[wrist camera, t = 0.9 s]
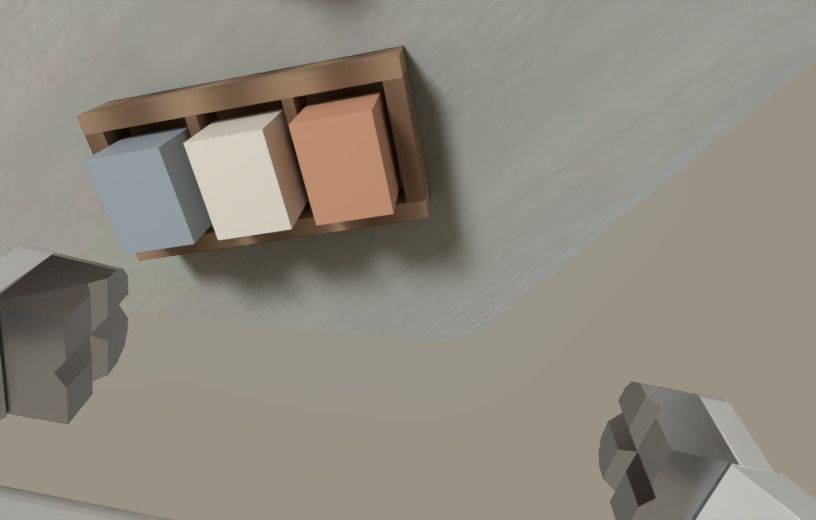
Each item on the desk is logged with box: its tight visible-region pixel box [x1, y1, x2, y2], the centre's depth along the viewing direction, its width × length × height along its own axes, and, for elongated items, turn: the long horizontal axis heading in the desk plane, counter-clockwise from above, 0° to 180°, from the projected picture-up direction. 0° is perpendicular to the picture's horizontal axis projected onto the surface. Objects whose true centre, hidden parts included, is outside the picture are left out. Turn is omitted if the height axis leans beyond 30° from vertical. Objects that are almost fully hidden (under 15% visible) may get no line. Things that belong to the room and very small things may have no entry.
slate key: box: [83, 126, 212, 254], centre depth 37 cm, size 5×6×5 cm
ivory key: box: [183, 108, 309, 240], centre depth 37 cm, size 5×6×5 cm
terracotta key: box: [289, 91, 400, 226], centre depth 36 cm, size 5×6×5 cm
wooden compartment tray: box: [77, 46, 431, 261], centre depth 39 cm, size 20×10×4 cm, turn 101°
